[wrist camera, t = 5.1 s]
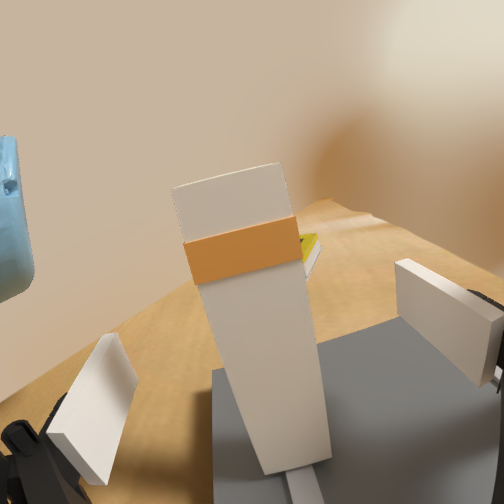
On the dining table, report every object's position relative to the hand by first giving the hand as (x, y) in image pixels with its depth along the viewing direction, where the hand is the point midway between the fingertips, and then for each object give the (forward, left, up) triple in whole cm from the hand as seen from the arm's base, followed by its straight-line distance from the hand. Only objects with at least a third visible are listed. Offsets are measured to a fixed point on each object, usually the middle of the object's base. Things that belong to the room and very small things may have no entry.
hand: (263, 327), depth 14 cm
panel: (+5, +4, -8) cm, 10 cm away
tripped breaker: (+2, -1, -5) cm, 6 cm away
